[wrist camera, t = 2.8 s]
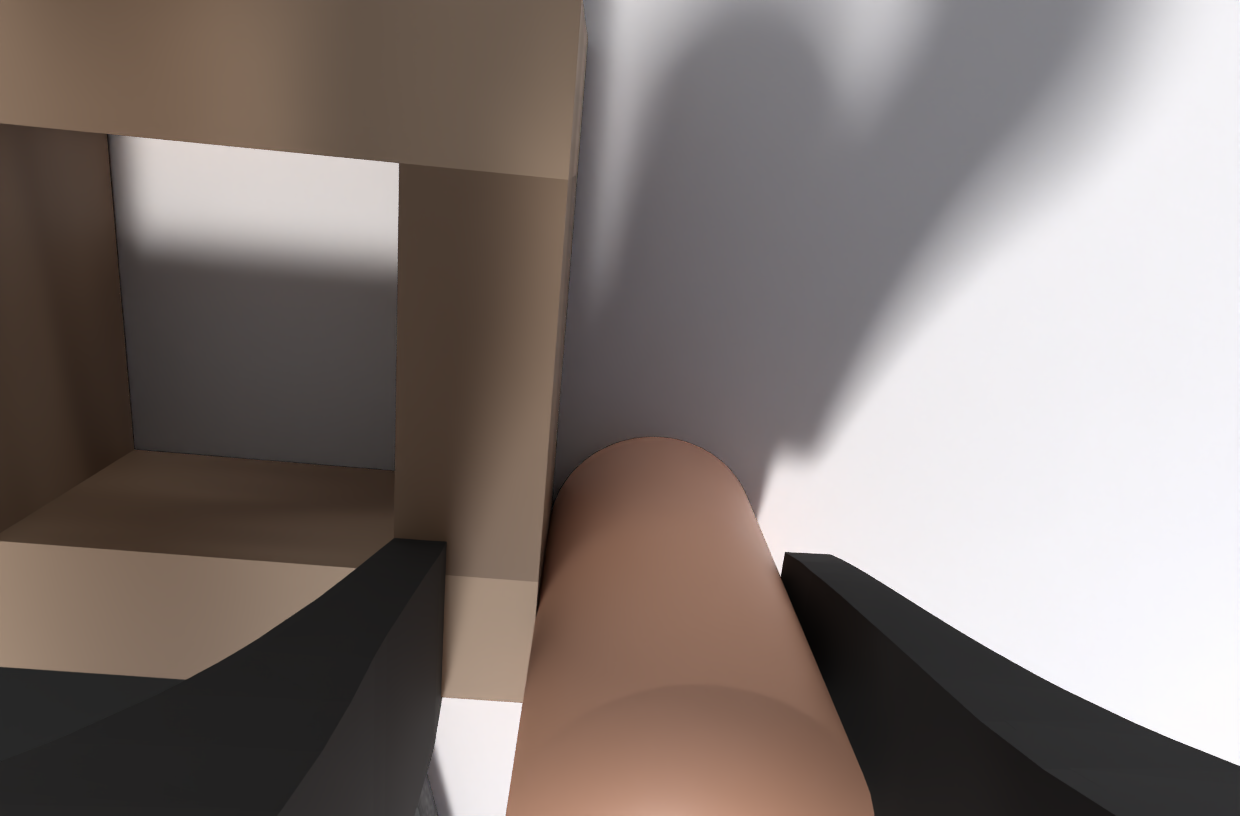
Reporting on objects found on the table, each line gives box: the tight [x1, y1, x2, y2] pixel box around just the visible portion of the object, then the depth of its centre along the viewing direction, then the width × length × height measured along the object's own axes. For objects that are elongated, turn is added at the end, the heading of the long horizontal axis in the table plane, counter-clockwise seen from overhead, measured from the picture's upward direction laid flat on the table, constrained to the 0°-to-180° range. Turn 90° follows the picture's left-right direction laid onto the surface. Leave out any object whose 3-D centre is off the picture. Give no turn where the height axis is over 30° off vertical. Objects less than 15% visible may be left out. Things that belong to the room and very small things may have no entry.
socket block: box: [0, 0, 588, 703], centre depth 10 cm, size 8×8×3 cm
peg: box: [506, 437, 874, 816], centre depth 10 cm, size 3×3×6 cm
